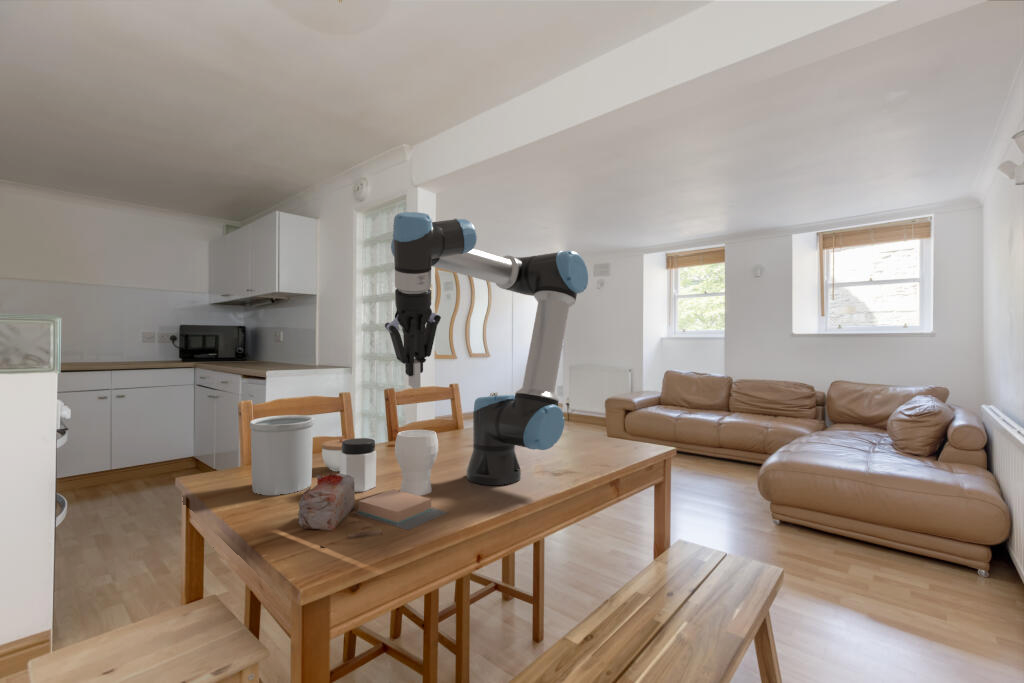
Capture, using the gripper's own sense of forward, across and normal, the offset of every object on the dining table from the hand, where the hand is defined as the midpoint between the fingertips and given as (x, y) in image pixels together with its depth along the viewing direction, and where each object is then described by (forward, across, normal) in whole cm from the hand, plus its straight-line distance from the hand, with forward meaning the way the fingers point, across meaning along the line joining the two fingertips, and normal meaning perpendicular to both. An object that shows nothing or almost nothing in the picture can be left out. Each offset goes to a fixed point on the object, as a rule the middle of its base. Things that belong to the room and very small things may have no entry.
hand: (414, 386), depth 109 cm
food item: (+22, -25, -6) cm, 33 cm away
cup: (+29, -2, -3) cm, 29 cm away
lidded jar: (+40, -7, +30) cm, 50 cm away
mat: (+22, -12, -13) cm, 28 cm away
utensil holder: (+32, -25, +23) cm, 47 cm away
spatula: (+17, -25, -17) cm, 35 cm away
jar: (+31, -11, +10) cm, 35 cm away
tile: (+20, -10, -16) cm, 27 cm away
